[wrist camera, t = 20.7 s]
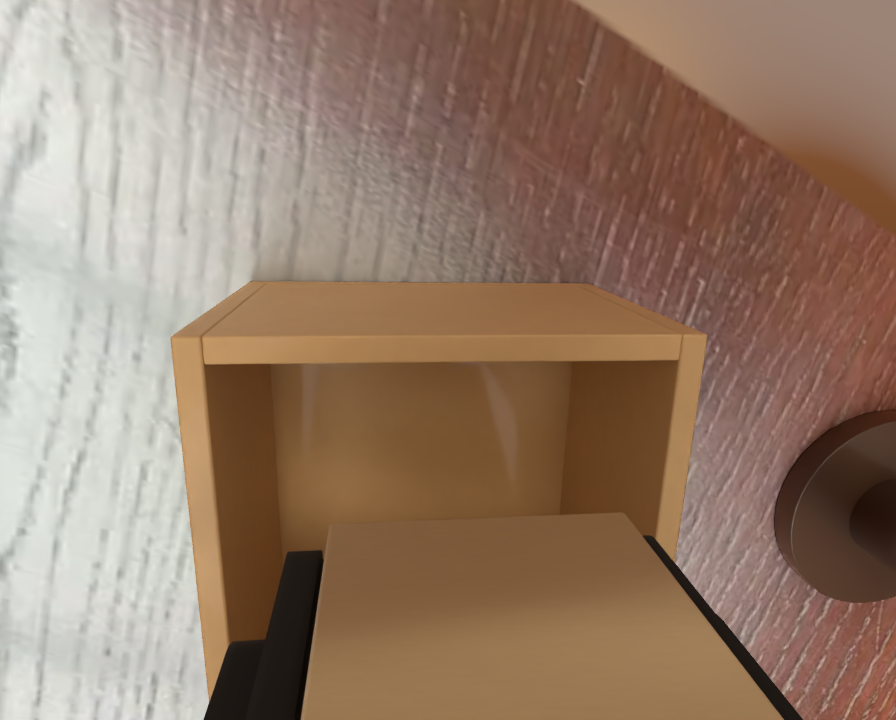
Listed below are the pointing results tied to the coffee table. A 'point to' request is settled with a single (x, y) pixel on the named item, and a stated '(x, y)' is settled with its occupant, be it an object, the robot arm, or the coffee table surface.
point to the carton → (418, 420)
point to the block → (514, 627)
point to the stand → (844, 511)
